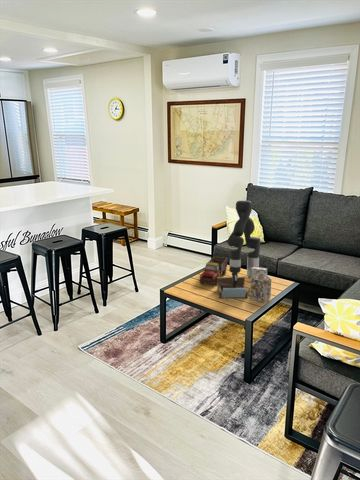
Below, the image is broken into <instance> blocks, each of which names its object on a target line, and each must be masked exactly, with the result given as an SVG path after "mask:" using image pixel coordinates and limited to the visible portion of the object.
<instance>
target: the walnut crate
mask: <svg viewBox="0 0 360 480" xmlns="http://www.w3.org/2000/svg"><path fill="white" fill-rule="evenodd" d="M245 279H246V277H245V276H238V281H237V284H236V288H247V286H246V284H245ZM216 286H217V287H216V288H217V294H218V295H217V296H218V299H221V300H222V299H225V300H226V299H229V300H230V299H249V298H248V297H249V293H248V292H249V291H248V289H247V290H246V295H245V297H233V298H222V294H223V288H233V281H232V276H219V277H218V280H217V285H216Z"/></svg>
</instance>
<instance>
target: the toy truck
mask: <svg viewBox="0 0 360 480" xmlns="http://www.w3.org/2000/svg"><path fill="white" fill-rule="evenodd" d="M227 268H228V257H223V256H212V258H210V259H209V260H208V262H207V263H205V268H203V269H202V273H201V274H200V275H199V283H200V284H202V285H203V284H211V285H213V286H217V280H218V277H221V274H222V276H226V274H227Z"/></svg>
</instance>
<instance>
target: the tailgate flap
mask: <svg viewBox="0 0 360 480" xmlns="http://www.w3.org/2000/svg"><path fill="white" fill-rule="evenodd" d="M246 290H247V291H248V289H247V287H246V288H223V294H222V298H232V299H234V298H233V297H245V295H246Z"/></svg>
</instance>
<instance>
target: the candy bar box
mask: <svg viewBox="0 0 360 480" xmlns="http://www.w3.org/2000/svg"><path fill="white" fill-rule="evenodd" d="M258 274H264V275H266V276H268V268H265V267H260V266H259V267H252V268H251V278H250V281H251V280H252V278H253V276H255V275H258Z"/></svg>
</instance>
